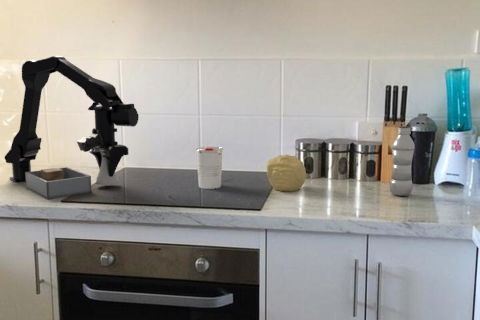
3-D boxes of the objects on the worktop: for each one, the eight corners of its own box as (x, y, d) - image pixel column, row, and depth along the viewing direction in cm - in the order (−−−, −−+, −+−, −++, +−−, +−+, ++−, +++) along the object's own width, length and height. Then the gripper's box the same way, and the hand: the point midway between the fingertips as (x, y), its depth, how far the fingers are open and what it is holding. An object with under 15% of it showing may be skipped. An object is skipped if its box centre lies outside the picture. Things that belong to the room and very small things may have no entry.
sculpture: (262, 191, 159) (262, 156, 157) (275, 183, 170) (275, 150, 168) (299, 195, 155) (300, 159, 153) (309, 186, 166) (310, 152, 164)
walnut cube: (47, 188, 161) (46, 172, 160) (41, 185, 165) (40, 169, 164) (63, 185, 164) (62, 170, 164) (57, 183, 168) (56, 167, 167)
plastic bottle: (413, 193, 157) (417, 126, 153) (410, 199, 151) (414, 129, 147) (391, 191, 159) (394, 125, 156) (387, 196, 153) (390, 127, 150)
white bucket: (189, 186, 166) (188, 148, 164) (207, 182, 173) (207, 145, 171) (212, 191, 160) (211, 152, 158) (230, 186, 166) (230, 148, 164)
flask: (113, 186, 161) (111, 154, 160) (91, 185, 163) (89, 153, 161) (122, 181, 168) (121, 150, 167) (101, 180, 170) (100, 149, 168)
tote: (26, 188, 164) (25, 172, 163) (67, 182, 172) (66, 167, 172) (47, 199, 150) (46, 182, 150) (91, 192, 159) (90, 175, 158)
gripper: (67, 124, 164) (69, 173, 167) (93, 130, 150) (95, 183, 153) (100, 122, 171) (102, 169, 174) (128, 127, 157) (130, 178, 160)
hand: (106, 175), depth 165 cm, fingers closed on flask, 5 cm apart
